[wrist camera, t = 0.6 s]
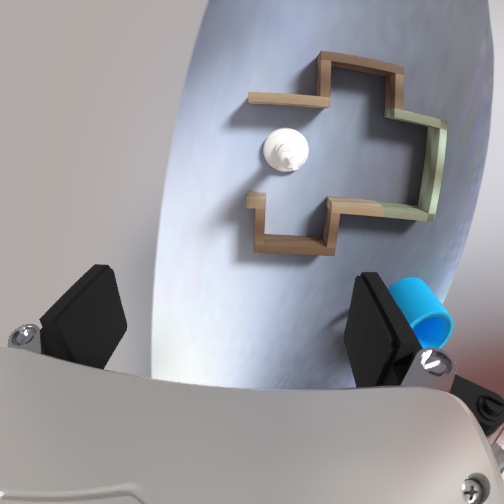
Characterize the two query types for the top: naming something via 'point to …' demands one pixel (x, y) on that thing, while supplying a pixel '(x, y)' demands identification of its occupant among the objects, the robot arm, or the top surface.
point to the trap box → (347, 205)
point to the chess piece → (285, 149)
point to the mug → (422, 312)
